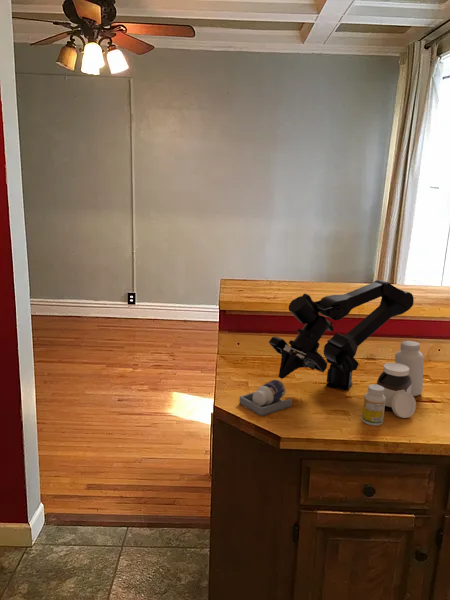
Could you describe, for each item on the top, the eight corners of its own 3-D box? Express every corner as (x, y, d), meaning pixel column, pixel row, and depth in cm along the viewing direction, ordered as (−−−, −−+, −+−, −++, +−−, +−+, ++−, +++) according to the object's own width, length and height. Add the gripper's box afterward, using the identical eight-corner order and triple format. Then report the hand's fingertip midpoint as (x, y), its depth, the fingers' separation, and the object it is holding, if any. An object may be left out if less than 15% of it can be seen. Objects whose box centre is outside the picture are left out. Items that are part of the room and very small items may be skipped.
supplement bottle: (377, 428, 137) (381, 393, 134) (358, 421, 140) (361, 387, 138) (386, 421, 141) (390, 387, 139) (367, 414, 144) (371, 381, 142)
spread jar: (388, 397, 156) (392, 359, 153) (425, 410, 149) (430, 370, 146) (365, 408, 148) (370, 368, 145) (404, 423, 140) (409, 381, 137)
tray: (269, 394, 154) (269, 387, 154) (291, 406, 147) (292, 399, 147) (239, 403, 147) (239, 396, 147) (261, 416, 141) (261, 408, 140)
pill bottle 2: (421, 387, 162) (423, 339, 159) (423, 397, 155) (425, 348, 152) (393, 385, 165) (395, 338, 161) (394, 395, 157) (396, 346, 154)
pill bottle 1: (288, 386, 149) (269, 397, 141) (281, 401, 151) (262, 412, 144) (273, 375, 151) (254, 385, 144) (267, 390, 154) (247, 400, 146)
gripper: (348, 358, 151) (317, 404, 147) (300, 340, 165) (271, 381, 161) (331, 336, 144) (299, 383, 140) (283, 319, 158) (252, 361, 155)
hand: (280, 377), depth 149 cm, fingers closed
